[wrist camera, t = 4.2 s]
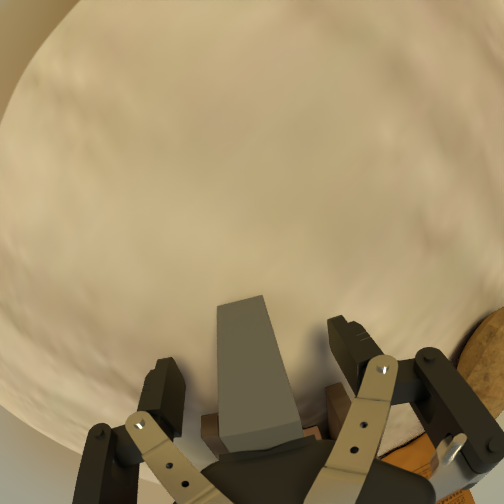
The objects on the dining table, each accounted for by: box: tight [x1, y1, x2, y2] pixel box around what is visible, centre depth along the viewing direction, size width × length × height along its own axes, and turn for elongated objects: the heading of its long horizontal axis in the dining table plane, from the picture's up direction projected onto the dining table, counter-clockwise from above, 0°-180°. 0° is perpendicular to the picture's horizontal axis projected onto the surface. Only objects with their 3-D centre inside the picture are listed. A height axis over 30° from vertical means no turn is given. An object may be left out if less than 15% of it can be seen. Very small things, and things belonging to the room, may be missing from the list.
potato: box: [457, 307, 504, 419], centre depth 16 cm, size 10×14×8 cm
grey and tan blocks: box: [217, 295, 322, 453], centre depth 14 cm, size 24×6×8 cm, turn 13°
